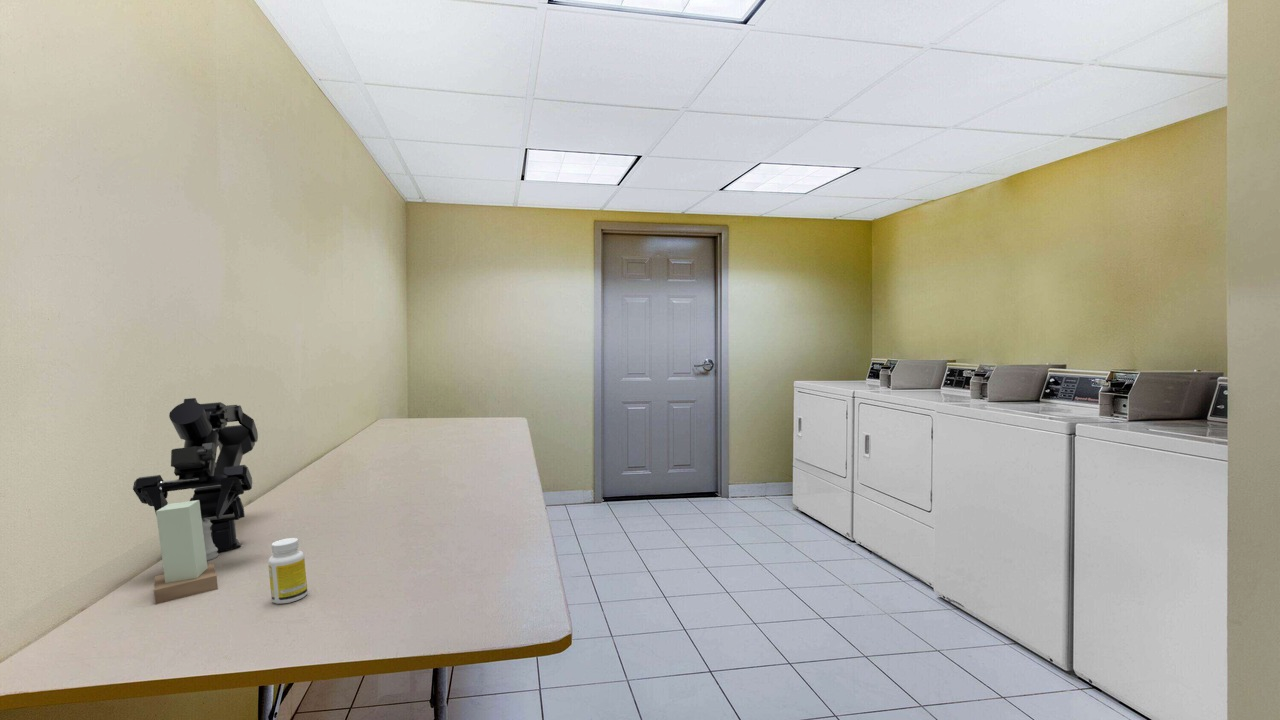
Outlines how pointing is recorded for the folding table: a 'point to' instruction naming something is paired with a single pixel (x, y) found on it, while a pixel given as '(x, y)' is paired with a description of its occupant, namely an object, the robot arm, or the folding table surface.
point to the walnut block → (185, 586)
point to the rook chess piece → (209, 541)
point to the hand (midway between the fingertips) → (189, 521)
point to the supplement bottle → (287, 572)
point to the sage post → (181, 541)
